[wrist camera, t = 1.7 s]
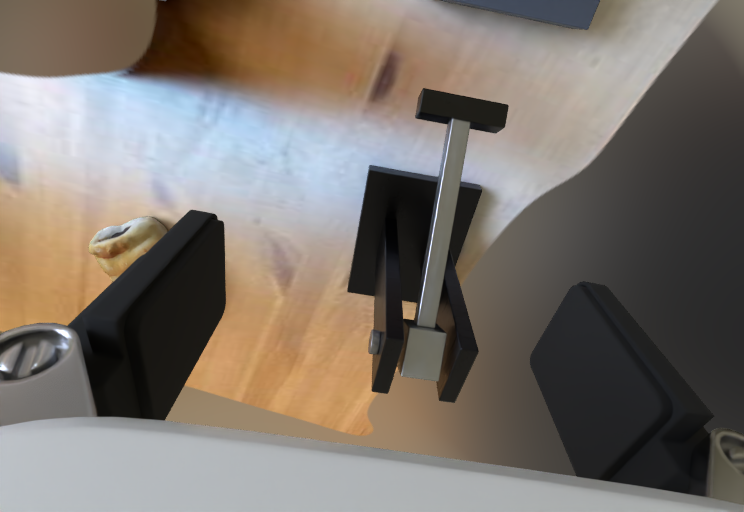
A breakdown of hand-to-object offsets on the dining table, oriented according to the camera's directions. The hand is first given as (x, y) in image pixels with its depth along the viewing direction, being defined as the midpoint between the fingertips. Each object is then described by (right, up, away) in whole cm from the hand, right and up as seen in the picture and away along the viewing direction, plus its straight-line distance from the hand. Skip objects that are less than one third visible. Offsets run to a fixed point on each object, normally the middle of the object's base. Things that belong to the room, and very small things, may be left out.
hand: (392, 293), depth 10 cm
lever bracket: (+3, +2, +23) cm, 23 cm away
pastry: (-21, +1, +25) cm, 32 cm away
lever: (+3, +2, +13) cm, 14 cm away
